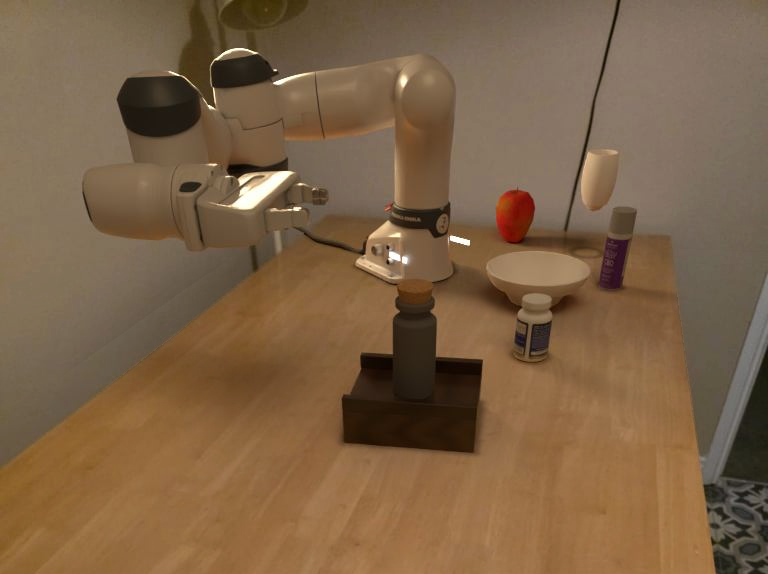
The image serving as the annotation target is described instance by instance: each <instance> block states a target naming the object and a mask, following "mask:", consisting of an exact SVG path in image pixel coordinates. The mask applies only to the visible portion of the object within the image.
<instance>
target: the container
mask: <svg viewBox="0 0 768 574" xmlns="http://www.w3.org/2000/svg"><path fill="white" fill-rule="evenodd" d="M637 213H638V209H637V208H634V207H632V206H615V207H613V208H612V212H611V215H610V222H609V225H608V226H609V227H608V231H607V234H606V240H605V247H604V250H603V256H602V263H601V266H600V267H601V268H600V273H599V277H598V284H597V288H598V289H599V290H601V291H605V292H617V291H620V290H622V287H623V284H624V278H625V274H626V269H627V263H628V259H629V255H630V249H631V245H632V240H633V235H634V229H635V225H636V220H637V219H636V218H637Z"/></svg>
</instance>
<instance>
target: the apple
mask: <svg viewBox="0 0 768 574" xmlns="http://www.w3.org/2000/svg"><path fill="white" fill-rule="evenodd" d="M535 212H536V204H535V200H534V198H533V197H532V196H531V193H529V192H528V191H525V190H521V189H519V187H517V188H516V189H510V190H508V191H506V192H504V193H503V194H502V195H501V196H500V197H499V199H498V201H497V204H496V206H495V221H496V226H497V230H498V234H499V236H500V237H502V238H503V239H504V241H506V242H509V243H519V242H520V241H522V240H523V238H525V237H526V235H527V233H528V232H529V230H530V227H531V225H532V224H533V222H534V217H535Z"/></svg>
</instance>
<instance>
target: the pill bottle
mask: <svg viewBox="0 0 768 574" xmlns="http://www.w3.org/2000/svg"><path fill="white" fill-rule="evenodd" d="M551 303H552V298H551V297H550V296H548V295H545V294H539V293H533V294H527V295H525V296H523V298H522V304H521V305H522V306H521V307H522V308H520V309H519V310H518V312H517V313H516V314H517V315H516V322H515V331H514V340H513V341H514V342H513V356H514V357H515V358H516V359H517V360H520V361H522V362H528V363H536V362H537V363H538V362H541V361H544V360H545V359H546V358H547V357H548V354H549V348H550V339H551V333H552V324H553V313H552V311H551V310H550V309H551V307H552V306H551Z"/></svg>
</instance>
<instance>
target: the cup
mask: <svg viewBox="0 0 768 574" xmlns="http://www.w3.org/2000/svg"><path fill="white" fill-rule="evenodd" d="M619 157H620V153H619V151H617V150H614V149H606V148H599V149H591V150H588V152H587V155H586V158H585V162H584V165H583V170H582V174H581V179H580V184H581V185H580V192H581V193H580V194H581V201H582V204H583V205H585V207H586V209H587V210H588V211H591V212H593V213H594V212H596V211H597V212H598V211H600V210H601V209H602V208H603V207H604V206H607V205H608V204H609V201H610V199H611V197H612V195H613V192H614V189H615V186H616V183H617V178H618V170H619Z"/></svg>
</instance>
